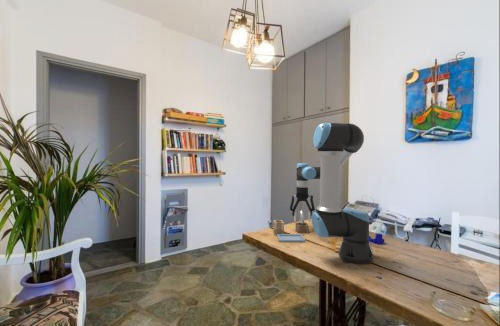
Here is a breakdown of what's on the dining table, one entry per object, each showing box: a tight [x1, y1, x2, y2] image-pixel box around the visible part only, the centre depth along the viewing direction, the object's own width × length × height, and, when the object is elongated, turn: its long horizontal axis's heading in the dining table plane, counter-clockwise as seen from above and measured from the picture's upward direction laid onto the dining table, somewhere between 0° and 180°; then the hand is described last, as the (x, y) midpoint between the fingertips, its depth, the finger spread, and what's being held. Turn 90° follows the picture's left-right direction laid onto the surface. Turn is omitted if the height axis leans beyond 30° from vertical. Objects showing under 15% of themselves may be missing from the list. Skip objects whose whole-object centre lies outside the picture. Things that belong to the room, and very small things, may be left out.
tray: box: [276, 233, 307, 243], centre depth 142 cm, size 11×15×1 cm
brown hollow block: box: [295, 222, 310, 234], centre depth 157 cm, size 7×7×5 cm
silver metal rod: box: [299, 209, 305, 225], centre depth 157 cm, size 3×3×14 cm
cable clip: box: [369, 233, 385, 246], centre depth 139 cm, size 12×4×6 cm, turn 21°
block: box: [272, 219, 285, 236], centre depth 152 cm, size 6×6×8 cm
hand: (302, 221), depth 157 cm, fingers open, 9 cm apart
